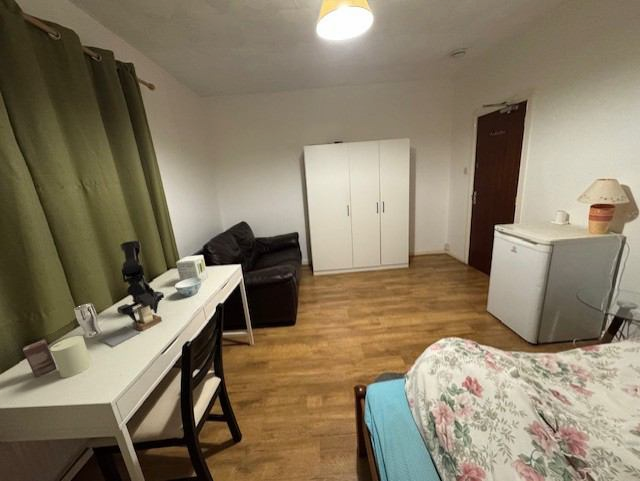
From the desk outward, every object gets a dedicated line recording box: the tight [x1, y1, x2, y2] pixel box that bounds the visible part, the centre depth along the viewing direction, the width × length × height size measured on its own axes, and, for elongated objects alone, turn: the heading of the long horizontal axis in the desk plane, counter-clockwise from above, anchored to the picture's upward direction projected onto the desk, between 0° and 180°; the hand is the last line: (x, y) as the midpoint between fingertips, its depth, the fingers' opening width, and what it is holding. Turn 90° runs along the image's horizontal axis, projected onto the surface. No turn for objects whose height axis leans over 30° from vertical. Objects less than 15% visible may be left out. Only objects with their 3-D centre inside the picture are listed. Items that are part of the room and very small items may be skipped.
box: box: [22, 339, 58, 378], centre depth 98 cm, size 6×4×12 cm
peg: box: [136, 305, 153, 324], centre depth 126 cm, size 4×4×10 cm
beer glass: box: [73, 302, 102, 340], centre depth 121 cm, size 7×7×15 cm
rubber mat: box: [98, 326, 141, 348], centre depth 119 cm, size 14×11×1 cm
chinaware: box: [174, 278, 202, 297], centre depth 159 cm, size 15×15×8 cm
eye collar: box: [132, 313, 163, 332], centre depth 127 cm, size 9×9×2 cm
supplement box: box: [175, 254, 209, 284], centre depth 179 cm, size 13×13×18 cm
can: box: [49, 335, 93, 379], centre depth 97 cm, size 9×9×12 cm
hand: (146, 317), depth 127 cm, fingers open, 9 cm apart
